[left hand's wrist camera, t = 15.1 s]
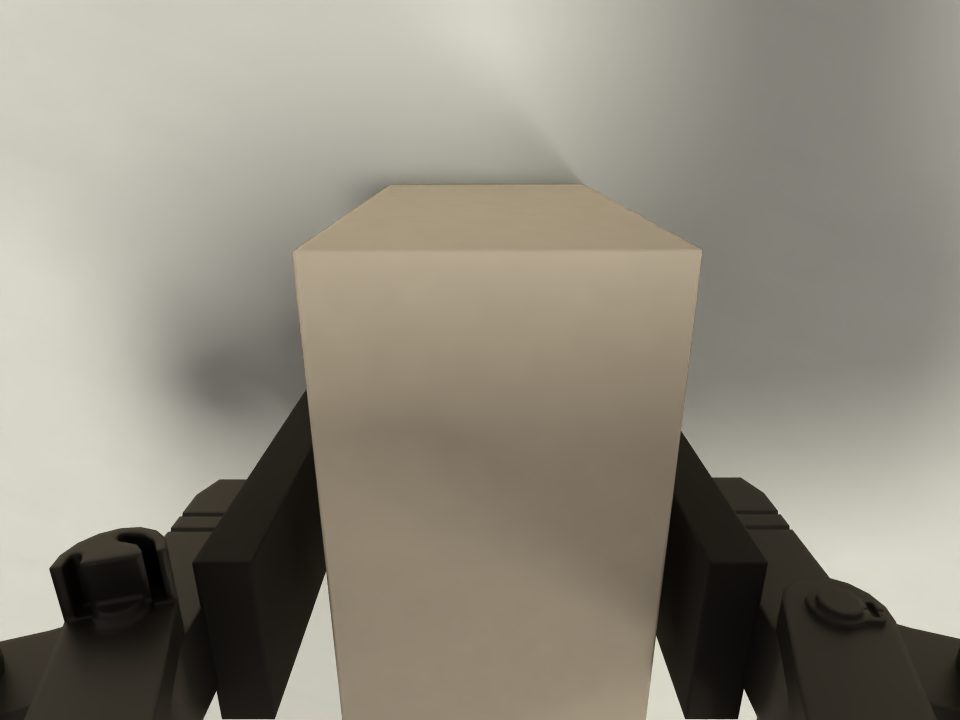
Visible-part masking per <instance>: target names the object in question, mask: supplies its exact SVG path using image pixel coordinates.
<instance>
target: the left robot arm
mask: <svg viewBox="0 0 960 720" xmlns="http://www.w3.org/2000/svg"><path fill="white" fill-rule="evenodd" d="M49 570H50V573H51V577H52V580H53V584H54V587H55V590H56V594H57V597H58V601H59V604H60V608H61V611H62V614H63V618H64V621H65V622H64V625H63V627H61V628H57V629H54V630H50V631H46V632H41V633H37V634H32V635H28V636H23V637H19V638H14V639H10V640H5V641H1V642H0V720H203V718H204V716H205V714H206V712H207V710H208V708H209V706H210V703H211V701H212V699H213V697H214V695H215V693H216V691H217V695H218V700H219V706H220V711H221V716H222V719H275V717H276V714H277V711H278V708H279V705H280V703H281V700H282V697H283V694H284V691H285V688H286V685H287V682H288V679H289V677H290V674H291V671H292V668H293V665H294V662H295V659H296V656H297V653H298V651H299V648H300V645H301V642H302V639H303V636H304V633H305V630H306V627H307V625H308V622H309V619H310V616H311V613H312V610H313V607H314V604H315V601H316V599H317V596H318V593H319V590H320V587H321V584H322V581H323V578H324V575H325V573H326V563H325V554H324V545H323V536H322V526H321V517H320V508H319V499H318V489H317V480H316V471H315V461H314V452H313V443H312V434H311V424H310V415H309V406H308V397H307V389H306V391H305V392H304V394H303V395H302V397H301V398H300V400H299V401H298V403H297V404H296V406H295V407H294V409H293V410H292V412H291V413H290V415H289V416H288V418H287V420H286V421H285V423H284V424H283V426H282V427H281V429H280V430H279V432H278V433H277V435H276V436H275V438H274V439H273V441H272V442H271V444H270V445H269V447H268V448H267V450H266V451H265V453H264V454H263V456H262V457H261V459H260V460H259V462H258V463H257V465H256V466H255V468H254V470H253V471H252V473H251V474H250V476H249V477H248V479H247V480H218V481H217V482H215V483H214V484H212V485H211V486H209V487H208V488H206V489H205V490H203V491H202V492H200V493H199V494H197V495H196V496H195V498H194V499H193V500H192V501H191V503H190V504H189V505H188V507H187V508H186V509H185V511H184V512H183V516H182V517H179V518H178V520H177V521H176V522H175V524H174V525H173V526H172V527H171V532H168V533H167V534H166V535H165V537H164V536H163V535H161V534H160V533H159V532H158V531H156V530H152V529H147V528H142V527H135V528H120V529H116V530H112V531H108V532H104V533H100V534H97V535H95V536H93V537H91V538H88V539H86V540H84V541H81V542H79V543H77V544H76V545H74V546H73V547H71V548H70V549H69V550H67V551H66V552H64V553H63V554H61V555H60V556H59V557H58V559H57V560H56V561H55V562H54V563H53V565H52V566H51V567H50V568H49ZM656 636H657V639H658V642H659V645H660V648H661V651H662V654H663V656H664V659H665V662H666V665H667V668H668V671H669V674H670V677H671V680H672V682H673V685H674V688H675V691H676V694H677V697H678V700H679V703H680V706H681V708H682V711H683V714H684V717H685V719H738V716H739V711H740V705H741V700H742V695H743V690H745V692H746V694H747V696H748V698H749V700H750V702H751V705H752V707H753V709H754V711H755V713H756V715H757V720H960V639H958V638H954V637H949V636H944V635H940V634H935V633H931V632H926V631H922V630H917V629H913V628H909V627H905V626H902V625H898V624H896V621H895V620H894V618H893V617H892V616H891V614H890V613H889V611H888V610H887V608H886V607H885V606H884V605H882V604H881V603H880V602H879V601H877V600H876V599H875V598H874V597H872V596H871V595H870V594H868V593H867V592H865V591H863V590H861V589H859V588H857V587H855V586H853V585H851V584H848V583H845V582H841V581H838V580H834V579H831V578H829V576H828V575H827V574H826V573H825V571H824V570H823V569H822V567H821V566H820V565H819V564H818V562H817V561H816V560H815V558H814V557H813V556H812V555H811V553H810V552H809V551H808V549H807V548H806V547H805V545H804V544H803V543H802V542H801V540H800V539H799V538H798V536H797V535H796V534H795V533H794V531H793V530H790V529H789V525H788V524H787V522H786V521H785V520H784V518H783V517H782V516H781V514H778V511H777V509H776V508H775V507H774V505H773V504H772V503H771V502H770V500H769V499H768V498H767V496H766V495H765V494H764V493H763V492H762V491H760V490H759V489H757V488H756V487H754V486H753V485H751V484H750V483H748V482H747V481H745V480H744V479H742V478H712V477H711V476H710V474H709V473H708V471H707V470H706V468H705V467H704V465H703V463H702V462H701V460H700V459H699V457H698V456H697V454H696V453H695V451H694V450H693V448H692V447H691V445H690V444H689V442H688V441H687V439H686V438H685V436H684V435H683V433H682V432H681V433H680V441H679V449H678V457H677V466H676V474H675V482H674V490H673V499H672V507H671V515H670V523H669V532H668V540H667V548H666V556H665V565H664V573H663V581H662V589H661V598H660V606H659V614H658V622H657V631H656Z"/></svg>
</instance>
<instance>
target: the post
mask: <svg viewBox="0 0 960 720" xmlns="http://www.w3.org/2000/svg"><path fill="white" fill-rule="evenodd" d="M292 257H293V267H294V276H295V285H296V295H297V304H298V313H299V322H300V332H301V341H302V350H303V359H304V369H305V378H306V387H307V397H308V406H309V415H310V424H311V434H312V443H313V452H314V461H315V471H316V480H317V489H318V499H319V508H320V517H321V526H322V536H323V545H324V554H325V563H326V573H327V582H328V591H329V601H330V610H331V619H332V628H333V638H334V647H335V656H336V665H337V675H338V684H339V693H340V703H341V712H342V720H646V713H647V705H648V697H649V688H650V680H651V672H652V664H653V655H654V647H655V639H656V631H657V622H658V614H659V606H660V598H661V589H662V581H663V573H664V565H665V556H666V548H667V540H668V532H669V523H670V515H671V507H672V499H673V490H674V482H675V474H676V466H677V457H678V449H679V441H680V433H681V424H682V416H683V408H684V400H685V392H686V383H687V375H688V367H689V359H690V350H691V342H692V334H693V326H694V317H695V309H696V301H697V293H698V284H699V276H700V268H701V260H702V250H701V249H700V248H698V247H696V246H694V245H693V244H691V243H689V242H687V241H685V240H683V239H682V238H680V237H678V236H676V235H674V234H673V233H671V232H669V231H667V230H665V229H663V228H662V227H660V226H658V225H656V224H654V223H653V222H651V221H649V220H647V219H645V218H644V217H642V216H640V215H638V214H636V213H634V212H633V211H631V210H629V209H627V208H625V207H624V206H622V205H620V204H618V203H616V202H614V201H613V200H611V199H609V198H607V197H605V196H604V195H602V194H600V193H598V192H596V191H595V190H593V189H591V188H589V187H587V186H585V185H583V184H468V185H389V186H388V187H386V188H385V189H383V190H382V191H380V192H379V193H377V194H376V195H374V196H373V197H371V198H370V199H368V200H367V201H366V202H364V203H363V204H361V205H360V206H358V207H357V208H355V209H354V210H352V211H351V212H349V213H348V214H346V215H345V216H344V217H342V218H341V219H339V220H338V221H336V222H335V223H333V224H332V225H330V226H329V227H327V228H326V229H325V230H323V231H322V232H320V233H319V234H317V235H316V236H314V237H313V238H311V239H310V240H308V241H307V242H305V243H304V244H303V245H301V246H300V247H298V248H297V249H295V250H294V251H293V253H292Z"/></svg>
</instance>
